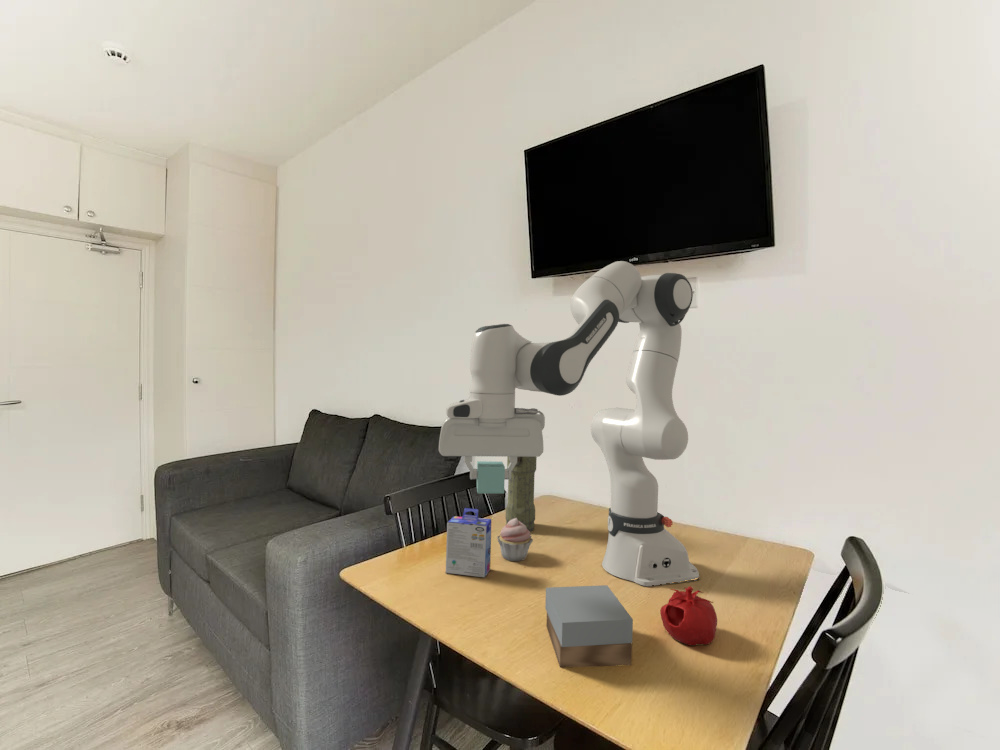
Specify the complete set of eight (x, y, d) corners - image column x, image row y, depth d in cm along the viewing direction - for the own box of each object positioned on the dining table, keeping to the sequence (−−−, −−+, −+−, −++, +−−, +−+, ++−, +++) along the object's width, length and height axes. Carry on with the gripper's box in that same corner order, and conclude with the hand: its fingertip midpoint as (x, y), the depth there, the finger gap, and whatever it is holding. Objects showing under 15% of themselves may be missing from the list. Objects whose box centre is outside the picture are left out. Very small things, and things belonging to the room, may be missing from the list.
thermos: (536, 522, 146) (539, 411, 146) (532, 535, 135) (535, 414, 134) (508, 519, 148) (511, 409, 147) (502, 532, 136) (505, 413, 136)
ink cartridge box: (491, 568, 112) (492, 508, 112) (486, 578, 107) (487, 516, 106) (452, 564, 114) (453, 505, 114) (444, 573, 109) (446, 512, 108)
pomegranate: (708, 623, 90) (710, 576, 90) (724, 655, 80) (726, 602, 80) (655, 617, 92) (657, 571, 92) (665, 648, 82) (666, 596, 82)
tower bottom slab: (608, 627, 89) (608, 606, 89) (631, 668, 77) (631, 644, 77) (546, 628, 88) (546, 607, 88) (559, 670, 76) (560, 646, 76)
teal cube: (501, 486, 93) (502, 461, 93) (504, 493, 88) (504, 467, 88) (476, 486, 92) (477, 461, 92) (477, 493, 87) (478, 467, 87)
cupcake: (531, 566, 114) (532, 525, 114) (493, 562, 116) (494, 522, 115) (534, 551, 123) (535, 513, 123) (499, 548, 125) (500, 511, 125)
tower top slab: (606, 605, 89) (607, 585, 89) (632, 643, 77) (632, 619, 77) (545, 608, 88) (545, 587, 87) (561, 647, 76) (562, 622, 76)
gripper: (542, 407, 94) (540, 475, 94) (440, 405, 92) (438, 474, 92) (548, 410, 88) (546, 483, 88) (438, 408, 86) (437, 482, 86)
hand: (490, 478), depth 90 cm, fingers closed on teal cube, 5 cm apart
